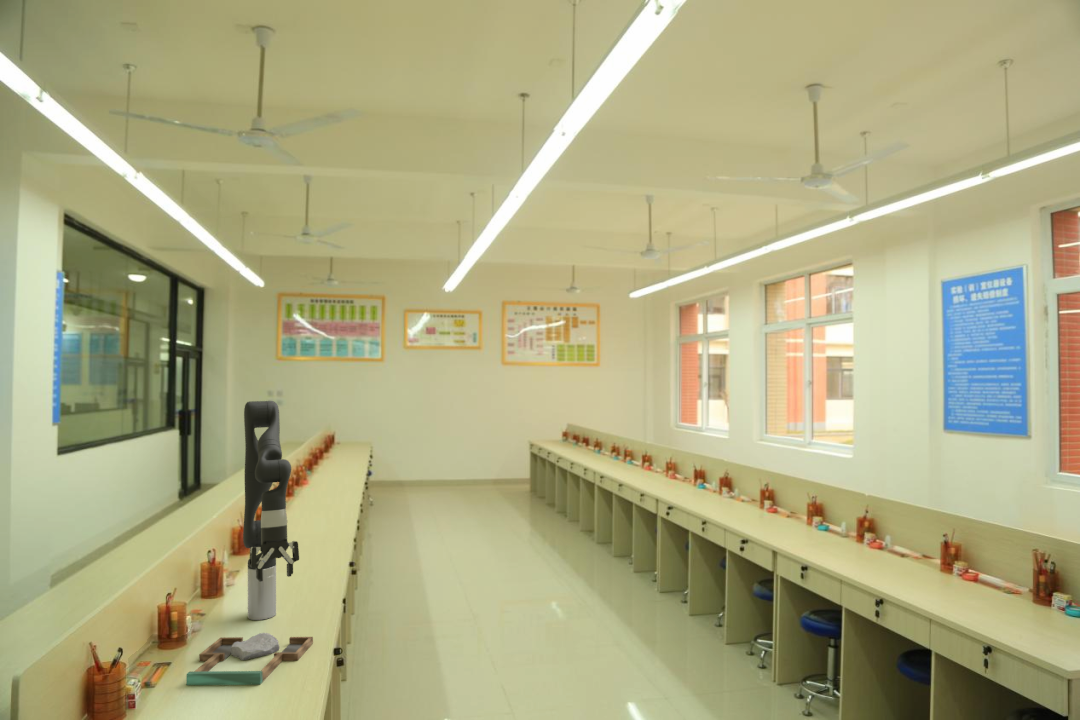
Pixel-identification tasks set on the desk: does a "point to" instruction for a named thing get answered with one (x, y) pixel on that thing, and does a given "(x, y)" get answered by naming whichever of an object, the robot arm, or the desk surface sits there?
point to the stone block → (255, 646)
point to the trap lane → (222, 651)
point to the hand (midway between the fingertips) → (274, 578)
